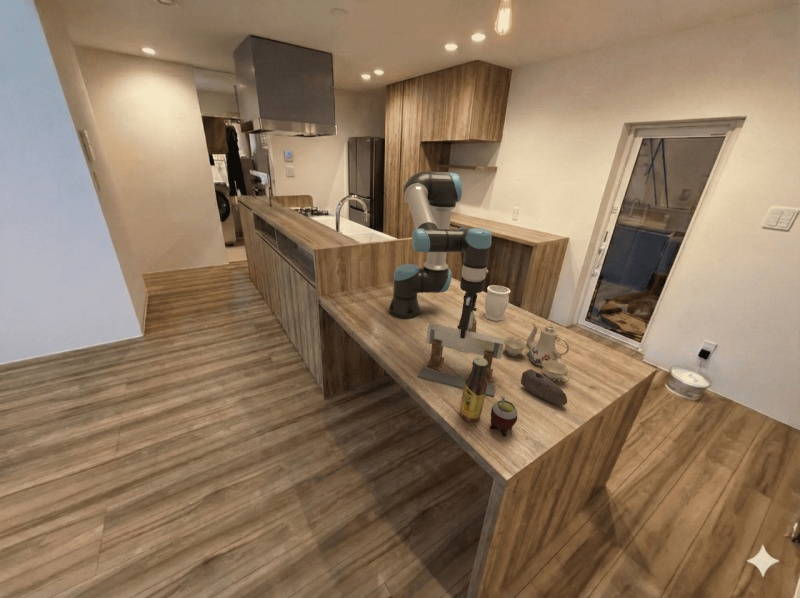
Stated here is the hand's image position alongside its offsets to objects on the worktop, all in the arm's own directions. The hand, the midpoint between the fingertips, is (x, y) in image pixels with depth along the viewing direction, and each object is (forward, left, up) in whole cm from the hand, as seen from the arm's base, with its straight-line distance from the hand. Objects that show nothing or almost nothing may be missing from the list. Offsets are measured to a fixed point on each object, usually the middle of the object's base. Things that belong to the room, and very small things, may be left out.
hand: (464, 336), depth 111 cm
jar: (+8, +49, -14) cm, 52 cm away
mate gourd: (+16, -24, -14) cm, 32 cm away
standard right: (+9, 0, -14) cm, 17 cm away
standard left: (-9, 0, -14) cm, 17 cm away
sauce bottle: (+7, -22, -14) cm, 27 cm away
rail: (0, 0, -5) cm, 5 cm away
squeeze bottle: (-1, +17, -14) cm, 22 cm away
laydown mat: (0, -8, -14) cm, 16 cm away
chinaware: (+27, +16, -14) cm, 34 cm away
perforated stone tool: (+28, -4, -14) cm, 32 cm away
